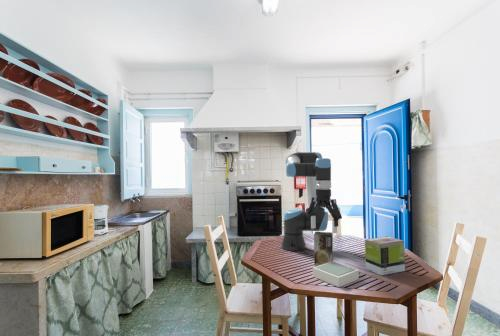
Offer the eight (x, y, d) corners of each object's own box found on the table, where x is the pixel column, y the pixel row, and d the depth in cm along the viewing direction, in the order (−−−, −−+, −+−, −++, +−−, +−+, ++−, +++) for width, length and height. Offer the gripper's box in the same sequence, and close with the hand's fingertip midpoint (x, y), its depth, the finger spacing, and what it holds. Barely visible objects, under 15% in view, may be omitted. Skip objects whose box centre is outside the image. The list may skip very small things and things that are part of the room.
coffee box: (333, 263, 141) (333, 232, 141) (332, 268, 135) (332, 235, 135) (315, 261, 144) (315, 231, 144) (313, 265, 138) (313, 233, 138)
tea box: (388, 264, 139) (388, 235, 139) (405, 271, 130) (405, 240, 130) (364, 268, 134) (364, 238, 134) (381, 276, 125) (380, 243, 125)
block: (312, 276, 125) (312, 267, 125) (332, 269, 133) (332, 260, 133) (338, 287, 113) (338, 276, 113) (358, 279, 121) (358, 269, 121)
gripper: (300, 187, 148) (300, 227, 147) (339, 190, 127) (339, 236, 127) (309, 187, 152) (310, 225, 152) (349, 189, 132) (349, 234, 131)
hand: (323, 230), depth 139 cm, fingers open, 13 cm apart
